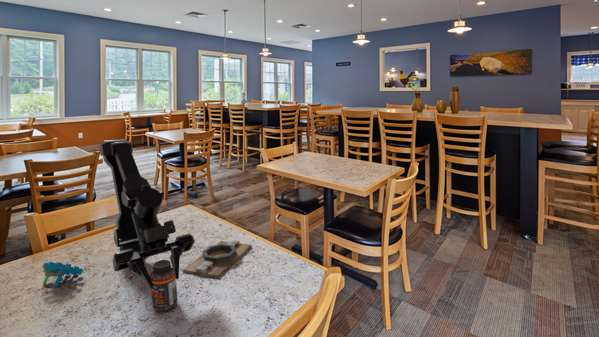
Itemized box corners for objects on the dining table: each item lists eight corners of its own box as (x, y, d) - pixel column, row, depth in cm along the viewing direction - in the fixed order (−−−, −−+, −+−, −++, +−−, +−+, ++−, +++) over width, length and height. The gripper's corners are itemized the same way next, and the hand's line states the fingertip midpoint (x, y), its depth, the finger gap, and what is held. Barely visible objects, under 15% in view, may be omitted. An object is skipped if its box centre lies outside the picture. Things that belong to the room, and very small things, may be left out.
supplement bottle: (147, 310, 82) (142, 268, 79) (161, 296, 88) (157, 256, 85) (169, 313, 81) (166, 270, 78) (182, 299, 87) (179, 258, 84)
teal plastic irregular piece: (92, 269, 100) (65, 258, 92) (84, 290, 96) (55, 280, 88) (61, 271, 102) (32, 260, 94) (53, 291, 99) (22, 282, 91)
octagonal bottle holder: (182, 272, 101) (182, 263, 101) (221, 242, 122) (221, 235, 121) (217, 278, 97) (217, 269, 97) (251, 247, 118) (251, 239, 117)
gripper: (109, 220, 77) (125, 285, 70) (189, 204, 88) (209, 258, 82) (106, 241, 84) (121, 301, 78) (181, 224, 96) (198, 275, 90)
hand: (164, 283), depth 82 cm, fingers closed on supplement bottle, 6 cm apart
